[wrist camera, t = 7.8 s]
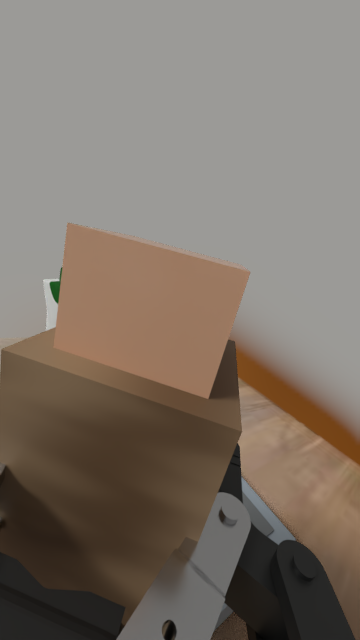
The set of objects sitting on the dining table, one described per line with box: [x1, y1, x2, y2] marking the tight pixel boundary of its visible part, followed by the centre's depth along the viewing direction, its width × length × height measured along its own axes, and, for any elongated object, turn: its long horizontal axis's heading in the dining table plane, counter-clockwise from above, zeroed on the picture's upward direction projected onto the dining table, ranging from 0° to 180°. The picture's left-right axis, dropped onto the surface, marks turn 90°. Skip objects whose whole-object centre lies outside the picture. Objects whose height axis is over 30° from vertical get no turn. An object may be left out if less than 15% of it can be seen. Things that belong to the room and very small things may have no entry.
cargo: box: [53, 223, 250, 399], centre depth 7 cm, size 4×4×3 cm
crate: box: [0, 327, 242, 626], centre depth 9 cm, size 6×6×11 cm
